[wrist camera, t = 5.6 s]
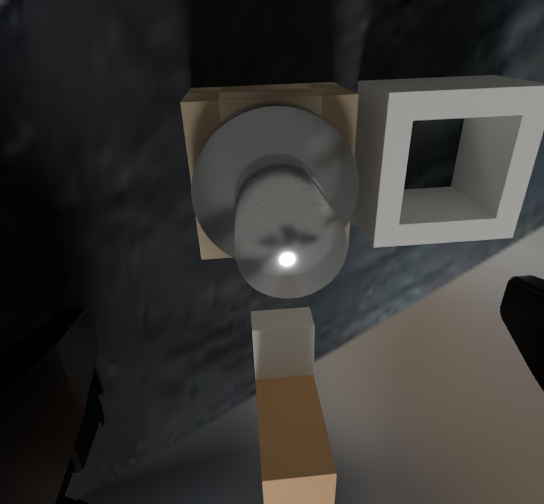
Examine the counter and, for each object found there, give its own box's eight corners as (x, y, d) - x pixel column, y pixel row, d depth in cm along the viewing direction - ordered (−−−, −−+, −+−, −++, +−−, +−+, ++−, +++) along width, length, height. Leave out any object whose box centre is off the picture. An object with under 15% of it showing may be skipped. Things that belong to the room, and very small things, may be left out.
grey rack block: (349, 211, 21) (373, 247, 17) (358, 80, 18) (389, 92, 14) (466, 203, 21) (512, 237, 17) (493, 74, 18) (556, 84, 14)
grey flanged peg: (208, 221, 20) (192, 347, 12) (192, 91, 17) (157, 144, 9) (328, 214, 20) (389, 330, 12) (333, 85, 17) (418, 130, 9)
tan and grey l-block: (256, 391, 18) (264, 516, 14) (250, 311, 16) (258, 427, 12) (308, 387, 19) (334, 508, 14) (309, 307, 16) (340, 418, 12)
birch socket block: (206, 220, 20) (201, 259, 17) (190, 88, 17) (180, 102, 14) (328, 212, 21) (348, 249, 17) (333, 82, 18) (358, 94, 14)
